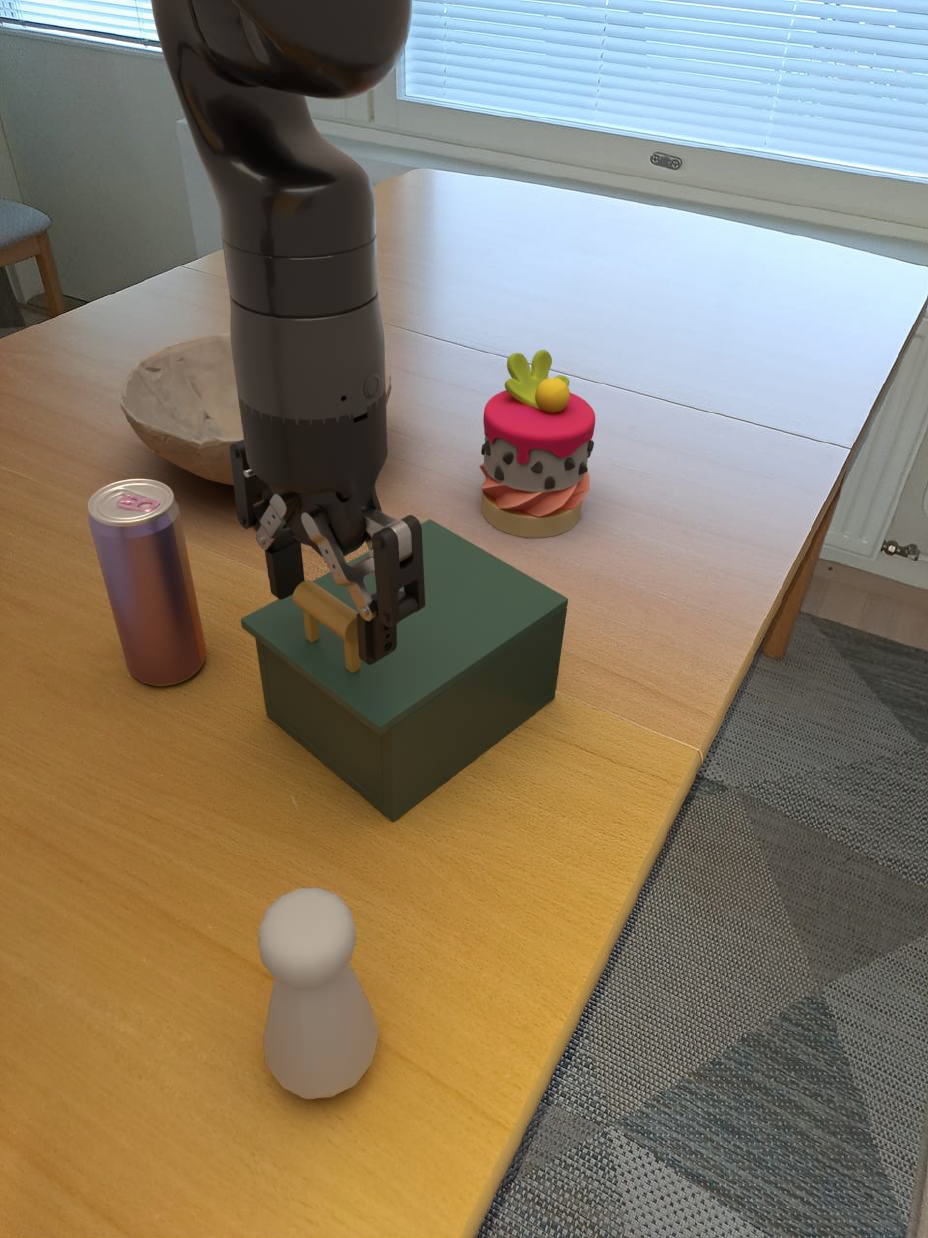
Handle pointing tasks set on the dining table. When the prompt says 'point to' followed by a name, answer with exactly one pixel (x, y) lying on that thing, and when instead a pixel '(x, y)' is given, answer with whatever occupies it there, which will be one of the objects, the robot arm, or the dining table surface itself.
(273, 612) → the lid
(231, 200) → the robot arm
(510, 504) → the cake
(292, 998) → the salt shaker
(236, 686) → the dining table surface
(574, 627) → the dining table surface
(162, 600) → the beverage can
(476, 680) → the chest
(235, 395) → the bowl
